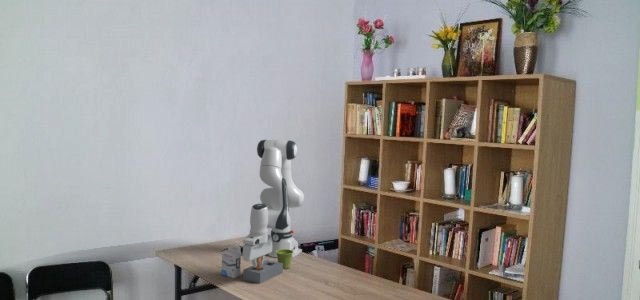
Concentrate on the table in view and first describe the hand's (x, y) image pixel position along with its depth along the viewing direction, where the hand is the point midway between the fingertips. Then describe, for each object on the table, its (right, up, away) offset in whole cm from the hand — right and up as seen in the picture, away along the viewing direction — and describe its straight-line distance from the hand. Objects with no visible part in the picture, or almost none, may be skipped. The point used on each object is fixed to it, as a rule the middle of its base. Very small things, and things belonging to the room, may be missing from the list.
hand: (257, 265), depth 230 cm
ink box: (-14, -6, +4) cm, 16 cm away
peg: (0, -4, 0) cm, 4 cm away
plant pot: (+11, -6, +20) cm, 24 cm away
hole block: (+2, -6, +5) cm, 8 cm away
